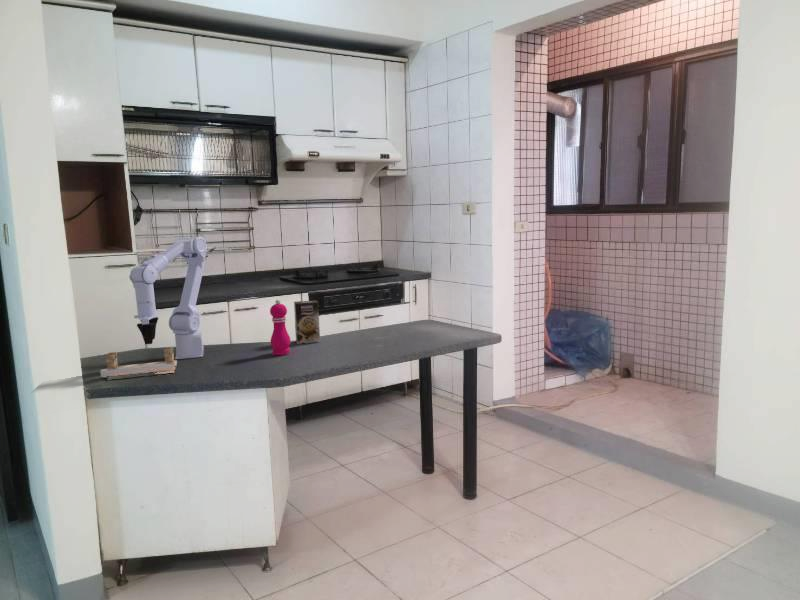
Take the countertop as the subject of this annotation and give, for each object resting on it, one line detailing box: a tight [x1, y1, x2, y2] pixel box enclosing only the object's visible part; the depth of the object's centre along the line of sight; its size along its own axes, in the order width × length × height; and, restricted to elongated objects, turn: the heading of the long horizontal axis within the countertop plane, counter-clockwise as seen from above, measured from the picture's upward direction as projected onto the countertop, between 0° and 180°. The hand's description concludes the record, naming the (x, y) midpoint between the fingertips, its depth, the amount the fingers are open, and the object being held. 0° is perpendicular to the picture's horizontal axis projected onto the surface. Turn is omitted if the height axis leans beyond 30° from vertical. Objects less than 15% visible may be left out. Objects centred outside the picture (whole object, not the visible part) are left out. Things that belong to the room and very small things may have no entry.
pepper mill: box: [269, 299, 292, 356], centre depth 213 cm, size 7×7×20 cm
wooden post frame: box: [105, 346, 178, 369], centre depth 200 cm, size 22×6×6 cm, turn 107°
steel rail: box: [100, 362, 176, 378], centre depth 192 cm, size 22×2×2 cm, turn 107°
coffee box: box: [293, 300, 321, 345], centre depth 231 cm, size 9×6×16 cm
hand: (150, 341), depth 199 cm, fingers open, 7 cm apart
